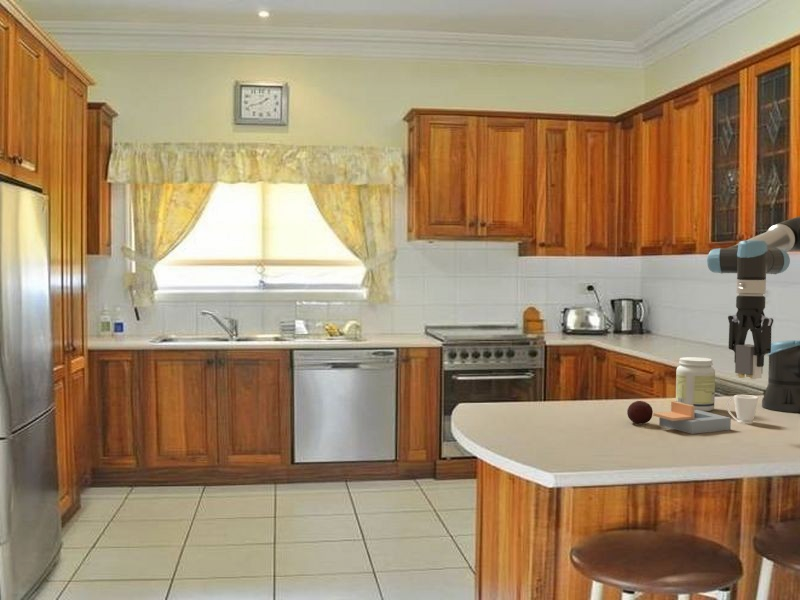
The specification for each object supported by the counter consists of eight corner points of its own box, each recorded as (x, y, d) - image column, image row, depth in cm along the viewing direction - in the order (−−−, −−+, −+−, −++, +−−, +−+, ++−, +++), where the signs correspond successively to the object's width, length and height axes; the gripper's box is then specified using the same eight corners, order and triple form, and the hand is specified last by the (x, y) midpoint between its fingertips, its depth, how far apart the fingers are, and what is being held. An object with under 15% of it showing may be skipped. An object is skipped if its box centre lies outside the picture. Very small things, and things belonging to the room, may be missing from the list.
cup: (748, 425, 231) (748, 399, 231) (719, 419, 240) (720, 394, 240) (762, 423, 235) (763, 397, 234) (734, 417, 243) (735, 392, 243)
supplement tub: (717, 408, 259) (718, 358, 258) (710, 414, 249) (711, 362, 248) (679, 404, 266) (681, 355, 265) (671, 409, 255) (672, 359, 255)
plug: (747, 375, 221) (748, 344, 221) (762, 378, 217) (763, 345, 216) (735, 376, 219) (735, 344, 219) (749, 379, 215) (750, 346, 214)
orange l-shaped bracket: (674, 413, 230) (674, 401, 230) (694, 418, 223) (694, 405, 223) (653, 415, 227) (653, 403, 227) (673, 420, 220) (673, 407, 219)
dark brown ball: (653, 422, 235) (654, 399, 234) (650, 427, 228) (651, 404, 227) (628, 420, 238) (629, 397, 237) (625, 425, 231) (625, 401, 230)
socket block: (696, 421, 237) (697, 409, 237) (730, 429, 225) (730, 417, 225) (659, 424, 231) (659, 413, 231) (691, 433, 219) (692, 421, 219)
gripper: (715, 293, 224) (713, 373, 225) (769, 296, 207) (766, 382, 208) (734, 293, 227) (732, 371, 228) (788, 296, 210) (785, 380, 212)
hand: (748, 376), depth 218 cm, fingers closed on plug, 5 cm apart
